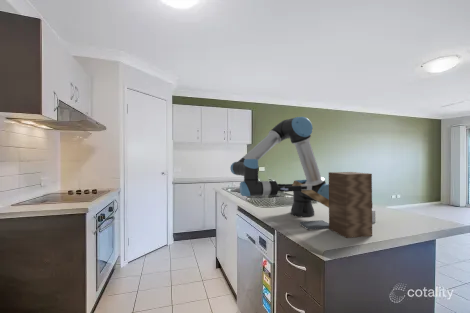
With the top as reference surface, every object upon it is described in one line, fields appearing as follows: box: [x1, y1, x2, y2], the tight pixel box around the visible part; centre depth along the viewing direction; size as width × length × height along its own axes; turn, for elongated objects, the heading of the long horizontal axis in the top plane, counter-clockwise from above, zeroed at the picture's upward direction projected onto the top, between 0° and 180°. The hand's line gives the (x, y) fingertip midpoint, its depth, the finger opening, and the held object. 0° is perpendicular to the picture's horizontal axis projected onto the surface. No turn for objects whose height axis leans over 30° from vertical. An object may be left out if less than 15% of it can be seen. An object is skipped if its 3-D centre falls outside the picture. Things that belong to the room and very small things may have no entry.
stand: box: [328, 171, 373, 239], centre depth 118 cm, size 14×14×30 cm
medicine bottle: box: [372, 208, 376, 224], centre depth 138 cm, size 7×7×12 cm
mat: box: [299, 220, 329, 230], centre depth 129 cm, size 14×10×2 cm
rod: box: [291, 180, 329, 209], centre depth 129 cm, size 26×4×4 cm, turn 101°
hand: (309, 186), depth 128 cm, fingers closed on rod, 3 cm apart
